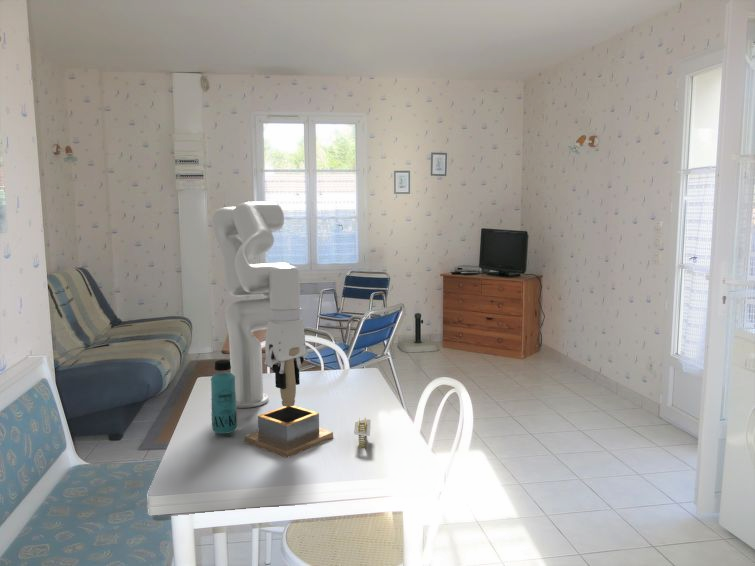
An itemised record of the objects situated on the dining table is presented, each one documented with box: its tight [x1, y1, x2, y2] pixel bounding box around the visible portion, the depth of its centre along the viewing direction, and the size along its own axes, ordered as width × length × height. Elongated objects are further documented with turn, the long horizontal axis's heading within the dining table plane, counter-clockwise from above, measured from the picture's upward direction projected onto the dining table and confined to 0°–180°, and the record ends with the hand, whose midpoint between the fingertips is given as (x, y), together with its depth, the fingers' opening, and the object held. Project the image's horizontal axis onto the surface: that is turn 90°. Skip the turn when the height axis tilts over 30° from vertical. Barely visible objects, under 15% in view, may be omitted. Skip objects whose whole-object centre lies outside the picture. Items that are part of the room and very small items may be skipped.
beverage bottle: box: [210, 359, 238, 434], centre depth 158 cm, size 6×7×20 cm
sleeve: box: [243, 405, 334, 458], centre depth 155 cm, size 16×16×7 cm
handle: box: [279, 347, 300, 407], centre depth 154 cm, size 5×6×15 cm
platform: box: [353, 416, 372, 451], centre depth 152 cm, size 12×18×7 cm, turn 0°
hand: (287, 385), depth 154 cm, fingers closed on handle, 4 cm apart
